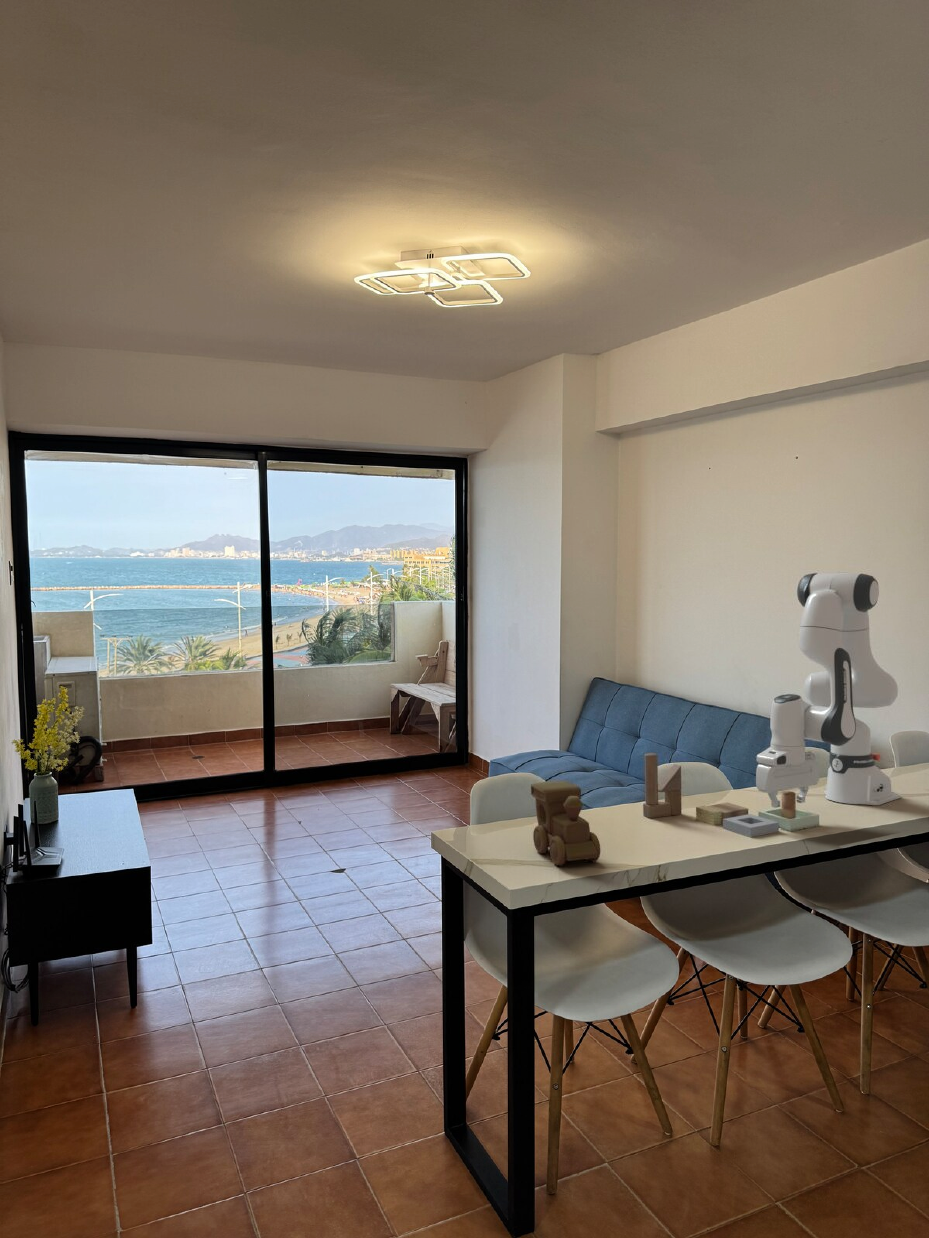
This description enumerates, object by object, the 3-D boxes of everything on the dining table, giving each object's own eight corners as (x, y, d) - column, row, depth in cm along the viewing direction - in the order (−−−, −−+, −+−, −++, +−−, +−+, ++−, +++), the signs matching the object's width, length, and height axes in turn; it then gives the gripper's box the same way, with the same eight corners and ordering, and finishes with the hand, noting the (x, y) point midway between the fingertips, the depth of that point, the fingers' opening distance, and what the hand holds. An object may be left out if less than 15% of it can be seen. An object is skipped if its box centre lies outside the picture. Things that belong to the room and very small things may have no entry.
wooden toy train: (528, 847, 217) (527, 783, 217) (569, 842, 220) (568, 779, 220) (560, 871, 198) (559, 800, 198) (605, 865, 201) (603, 796, 201)
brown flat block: (727, 814, 246) (727, 802, 246) (748, 820, 239) (748, 808, 239) (703, 818, 242) (703, 806, 242) (724, 825, 235) (723, 812, 235)
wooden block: (682, 814, 245) (681, 752, 245) (649, 818, 242) (648, 755, 241) (675, 811, 249) (674, 750, 248) (642, 815, 245) (641, 753, 245)
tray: (787, 816, 241) (787, 806, 241) (819, 825, 231) (819, 814, 231) (758, 822, 236) (758, 811, 236) (789, 831, 226) (789, 820, 226)
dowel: (788, 819, 236) (788, 790, 235) (798, 822, 232) (798, 793, 232) (778, 821, 234) (778, 792, 234) (789, 824, 231) (788, 794, 231)
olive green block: (704, 817, 241) (704, 805, 241) (722, 823, 235) (721, 810, 235) (696, 819, 240) (696, 807, 240) (713, 825, 234) (713, 812, 234)
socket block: (750, 822, 235) (750, 813, 235) (778, 831, 226) (778, 822, 226) (723, 828, 231) (722, 818, 231) (750, 837, 222) (750, 827, 222)
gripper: (805, 748, 240) (806, 797, 241) (751, 756, 231) (752, 807, 231) (824, 752, 235) (824, 802, 235) (769, 760, 225) (770, 812, 226)
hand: (788, 804), depth 233 cm, fingers open, 8 cm apart
